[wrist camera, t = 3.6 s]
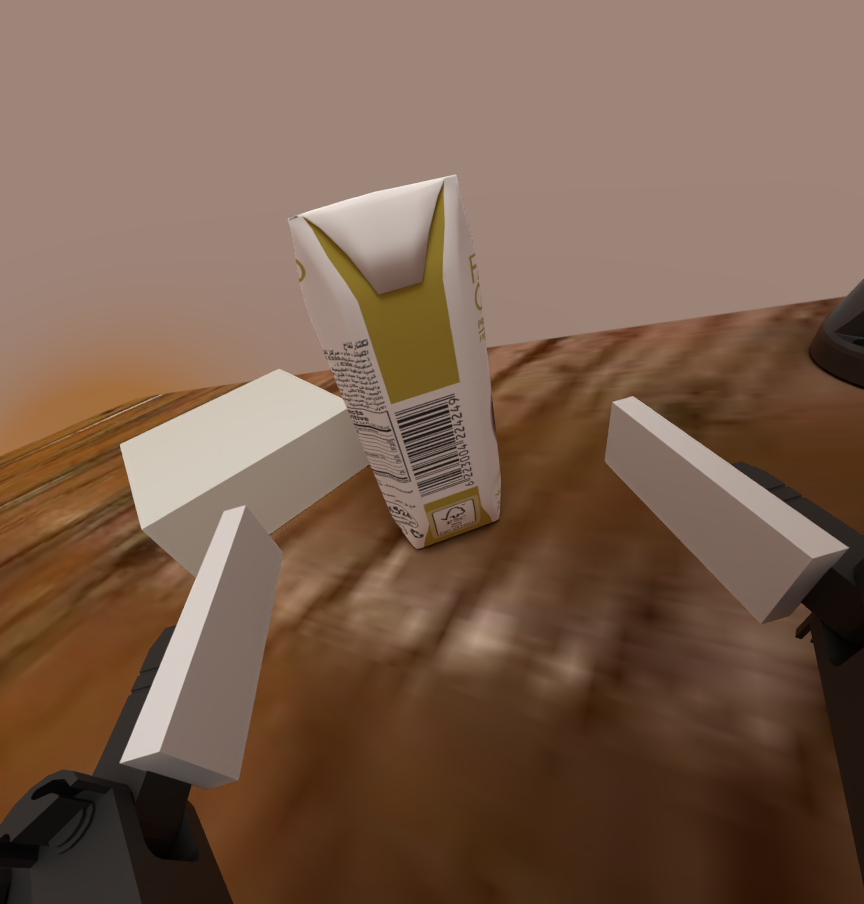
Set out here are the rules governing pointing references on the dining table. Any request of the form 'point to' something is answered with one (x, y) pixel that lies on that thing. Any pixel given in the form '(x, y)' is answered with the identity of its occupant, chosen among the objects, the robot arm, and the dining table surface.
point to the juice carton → (408, 349)
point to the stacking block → (240, 462)
